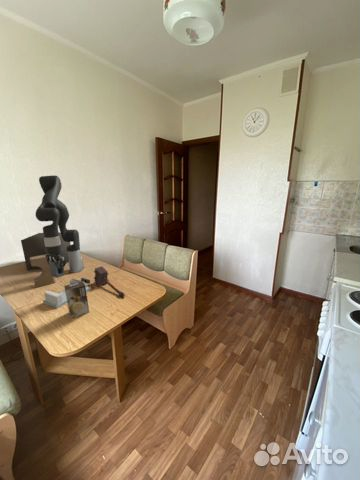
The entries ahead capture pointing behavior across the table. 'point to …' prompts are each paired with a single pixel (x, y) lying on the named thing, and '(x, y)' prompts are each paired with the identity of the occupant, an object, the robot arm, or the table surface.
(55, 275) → the steel block
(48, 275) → the decorative block
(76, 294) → the coffee box
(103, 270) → the hammer
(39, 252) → the dark grey angular block
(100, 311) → the table surface
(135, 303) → the table surface
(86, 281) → the free jaw
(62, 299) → the vise base
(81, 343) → the table surface
